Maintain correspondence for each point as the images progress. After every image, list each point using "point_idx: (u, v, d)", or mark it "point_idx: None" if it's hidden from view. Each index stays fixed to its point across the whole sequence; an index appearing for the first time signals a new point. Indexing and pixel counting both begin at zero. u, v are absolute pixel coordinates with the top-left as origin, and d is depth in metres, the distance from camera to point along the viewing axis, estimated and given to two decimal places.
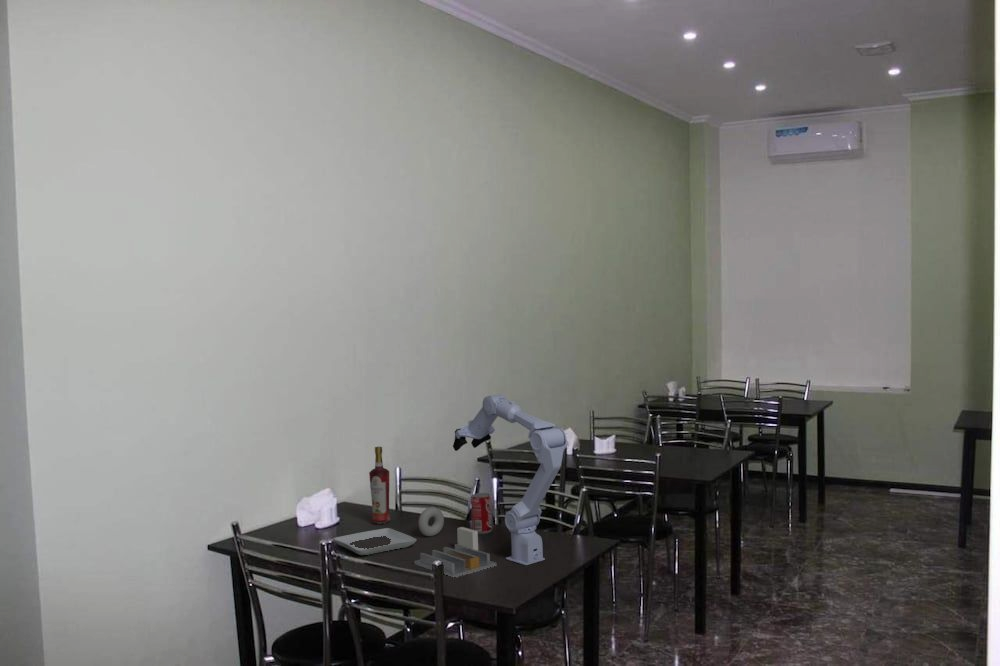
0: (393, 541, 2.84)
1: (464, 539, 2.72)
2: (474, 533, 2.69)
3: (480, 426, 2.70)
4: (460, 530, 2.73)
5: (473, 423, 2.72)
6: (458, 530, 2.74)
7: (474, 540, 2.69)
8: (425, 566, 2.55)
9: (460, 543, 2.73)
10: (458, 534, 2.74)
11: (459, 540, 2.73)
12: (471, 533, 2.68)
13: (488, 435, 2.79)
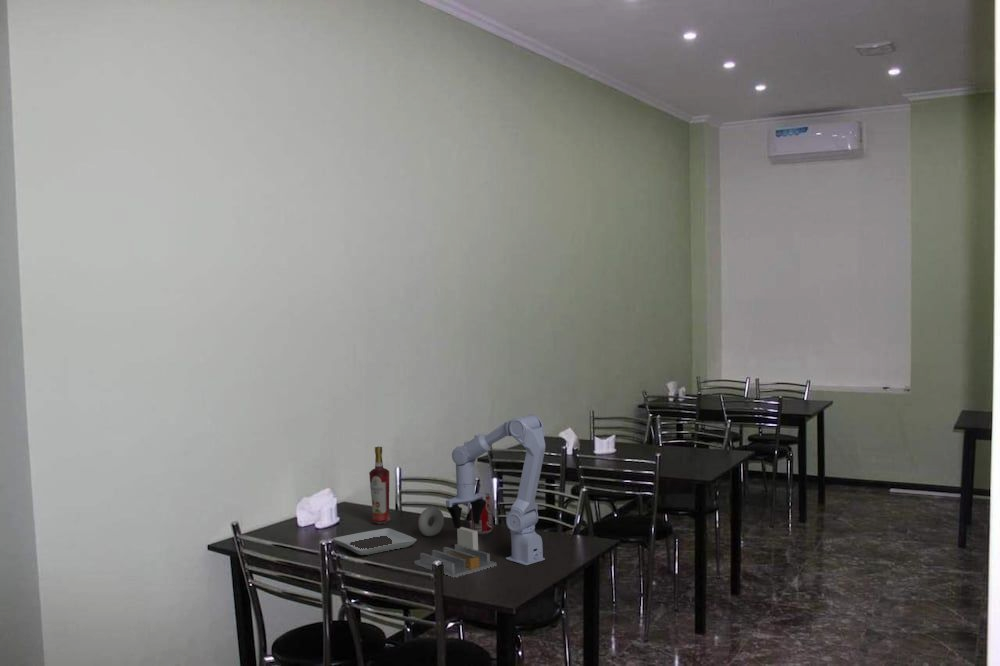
0: (393, 541, 2.84)
1: (464, 539, 2.72)
2: (474, 533, 2.69)
3: (466, 483, 2.69)
4: (460, 530, 2.73)
5: (457, 487, 2.70)
6: (458, 530, 2.74)
7: (474, 540, 2.68)
8: (425, 566, 2.55)
9: (460, 543, 2.73)
10: (458, 534, 2.74)
11: (459, 540, 2.73)
12: (471, 533, 2.68)
13: (482, 501, 2.74)
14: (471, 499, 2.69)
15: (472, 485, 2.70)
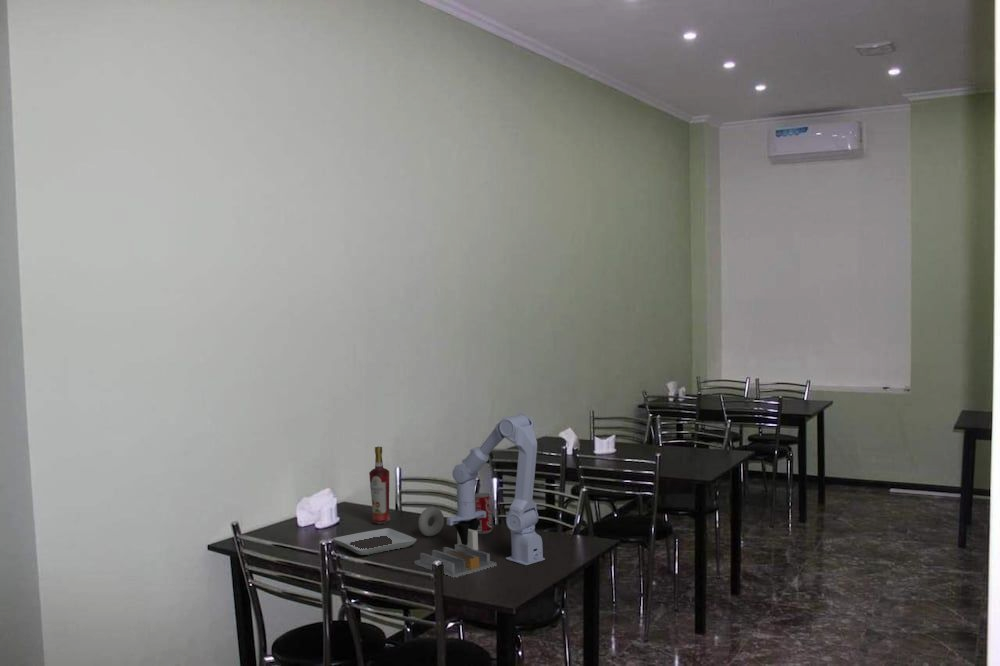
0: (393, 541, 2.84)
1: None
2: (474, 533, 2.69)
3: (466, 501, 2.69)
4: None
5: (458, 505, 2.70)
6: None
7: (474, 540, 2.68)
8: (425, 566, 2.55)
9: (460, 543, 2.73)
10: (458, 534, 2.74)
11: (459, 540, 2.73)
12: (471, 533, 2.68)
13: (476, 520, 2.72)
14: (472, 517, 2.69)
15: (473, 503, 2.70)
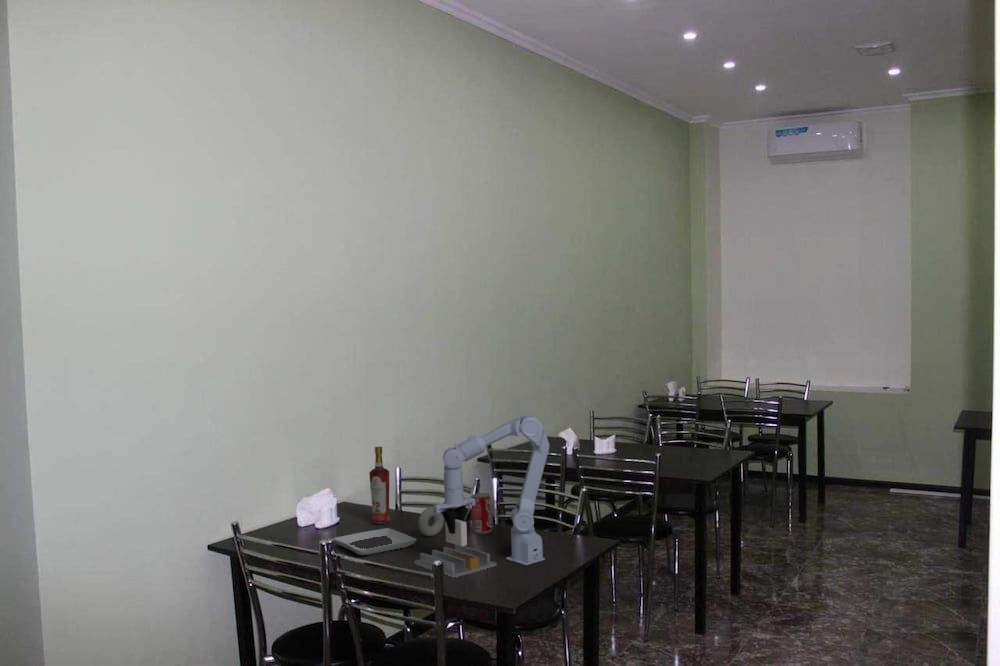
0: (393, 541, 2.84)
1: None
2: (463, 524, 2.55)
3: (459, 487, 2.57)
4: None
5: (445, 492, 2.57)
6: None
7: (463, 531, 2.55)
8: (425, 566, 2.55)
9: (448, 534, 2.60)
10: (446, 525, 2.61)
11: (447, 531, 2.60)
12: (459, 524, 2.55)
13: (464, 508, 2.60)
14: (459, 505, 2.56)
15: (461, 490, 2.57)
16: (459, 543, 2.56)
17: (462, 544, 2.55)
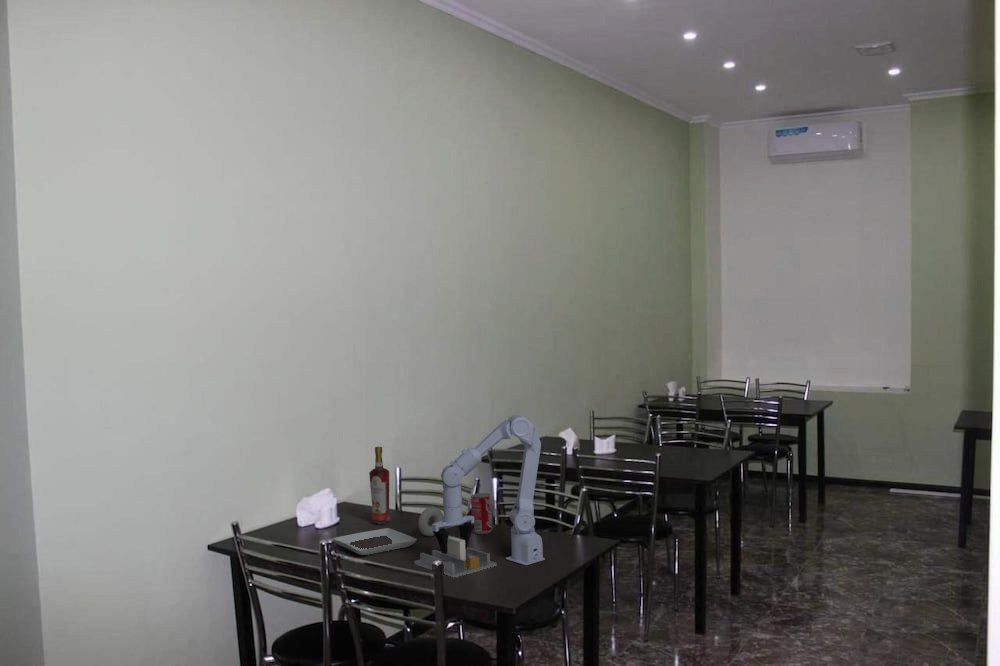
0: (393, 541, 2.84)
1: (450, 549, 2.57)
2: (461, 542, 2.54)
3: (459, 505, 2.55)
4: None
5: (444, 510, 2.56)
6: None
7: (461, 550, 2.54)
8: (425, 566, 2.55)
9: (447, 553, 2.58)
10: None
11: None
12: (458, 542, 2.54)
13: (470, 524, 2.59)
14: (459, 523, 2.55)
15: (460, 508, 2.55)
16: None
17: None
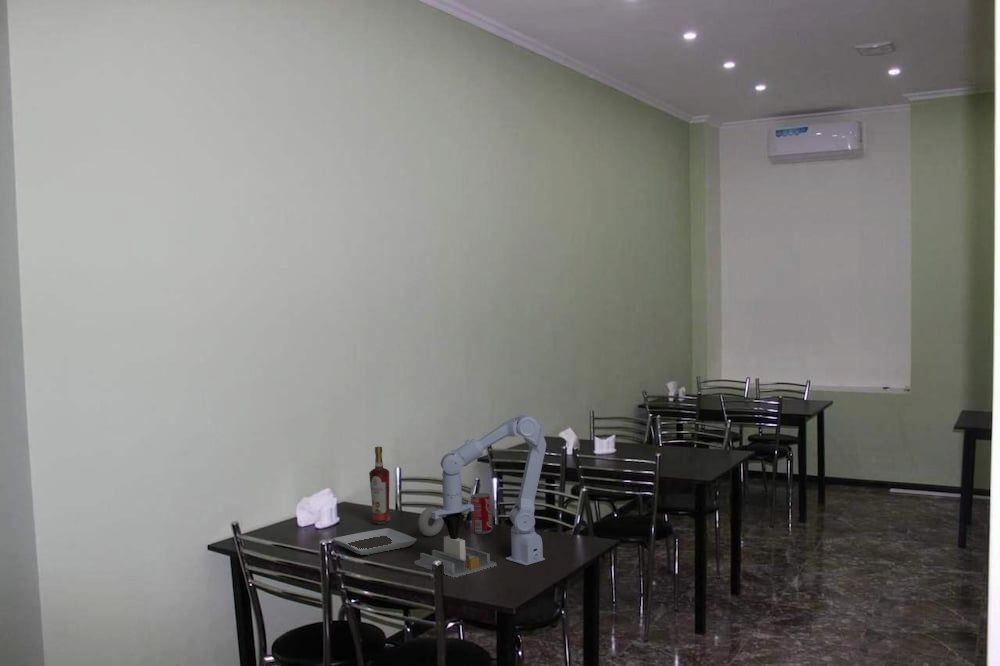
0: (393, 541, 2.84)
1: (450, 549, 2.57)
2: (461, 542, 2.54)
3: (459, 493, 2.55)
4: (447, 539, 2.58)
5: (443, 498, 2.55)
6: (445, 539, 2.59)
7: (461, 550, 2.54)
8: (425, 566, 2.55)
9: (447, 553, 2.58)
10: (445, 543, 2.59)
11: (446, 549, 2.59)
12: (458, 542, 2.54)
13: (461, 514, 2.57)
14: (458, 511, 2.54)
15: (459, 496, 2.55)
16: None
17: None
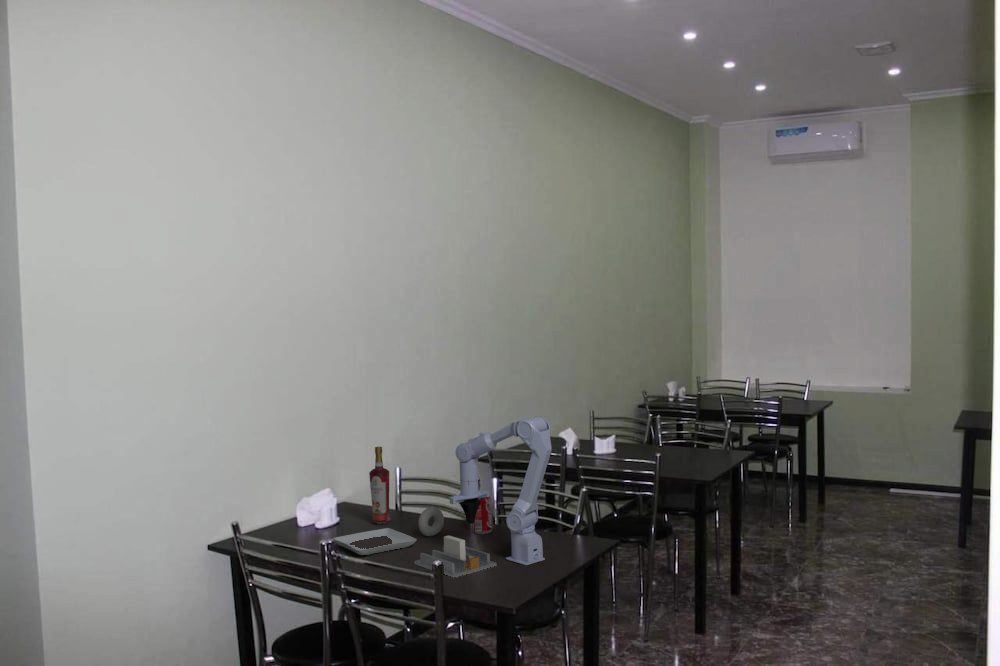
0: (393, 541, 2.84)
1: (450, 549, 2.57)
2: (461, 542, 2.54)
3: (470, 480, 2.67)
4: (447, 539, 2.58)
5: (461, 484, 2.69)
6: (445, 539, 2.59)
7: (461, 550, 2.54)
8: (425, 566, 2.55)
9: (447, 553, 2.58)
10: (445, 543, 2.59)
11: (446, 549, 2.59)
12: (458, 542, 2.54)
13: (477, 500, 2.70)
14: (475, 496, 2.68)
15: (476, 482, 2.68)
16: None
17: None
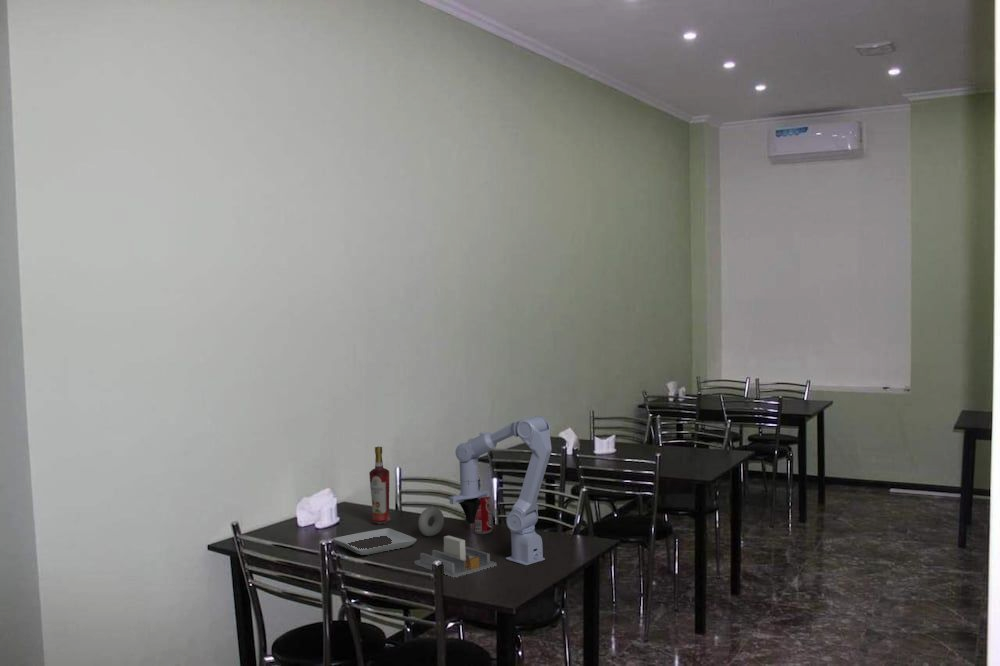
0: (393, 541, 2.84)
1: (450, 549, 2.57)
2: (461, 542, 2.54)
3: (470, 480, 2.67)
4: (447, 539, 2.58)
5: (461, 484, 2.69)
6: (445, 539, 2.59)
7: (461, 550, 2.54)
8: (425, 566, 2.55)
9: (447, 553, 2.58)
10: (445, 543, 2.59)
11: (446, 549, 2.59)
12: (458, 542, 2.54)
13: (477, 500, 2.70)
14: (475, 496, 2.68)
15: (476, 482, 2.68)
16: None
17: None
